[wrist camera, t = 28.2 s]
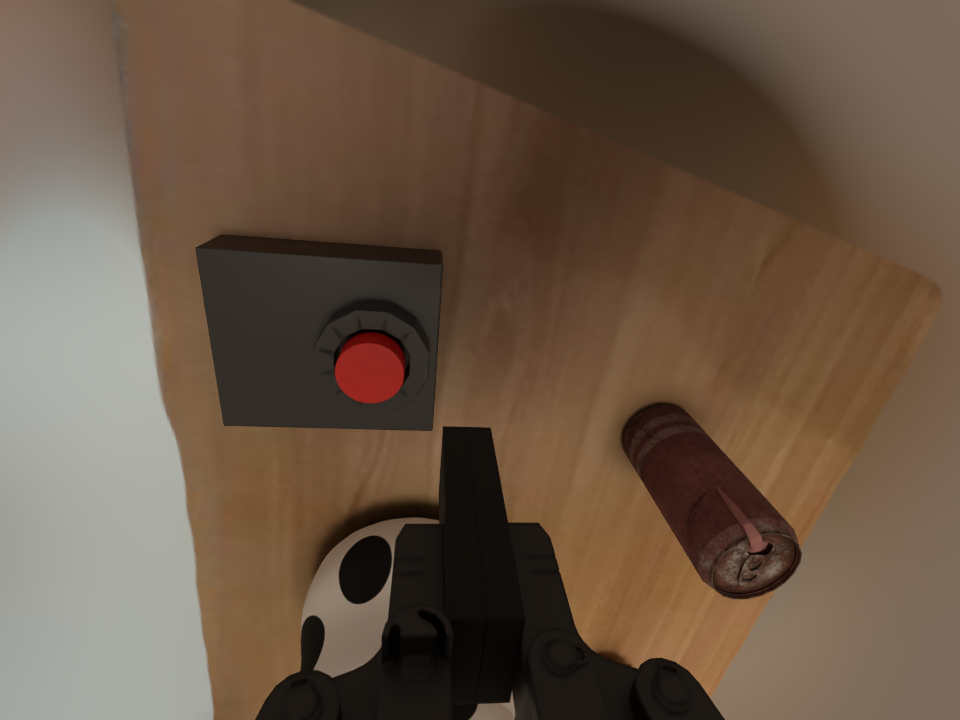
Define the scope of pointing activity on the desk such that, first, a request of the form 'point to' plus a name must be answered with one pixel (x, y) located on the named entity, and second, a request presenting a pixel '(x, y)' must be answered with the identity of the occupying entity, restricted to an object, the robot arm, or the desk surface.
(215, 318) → the push button base
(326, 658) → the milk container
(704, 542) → the can
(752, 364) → the desk surface
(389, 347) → the power button
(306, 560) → the desk surface
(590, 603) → the desk surface
